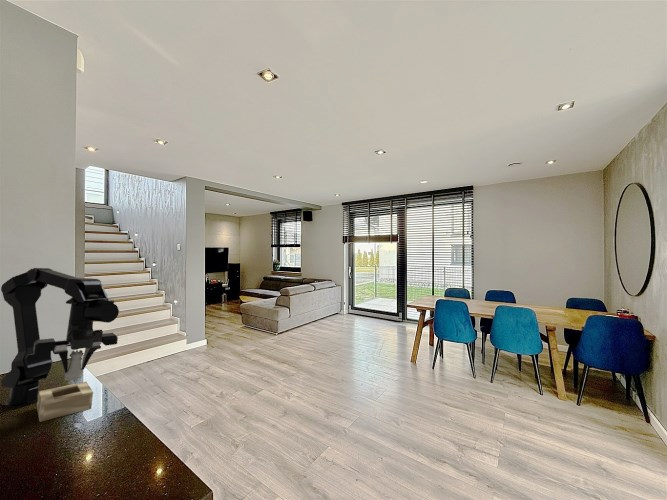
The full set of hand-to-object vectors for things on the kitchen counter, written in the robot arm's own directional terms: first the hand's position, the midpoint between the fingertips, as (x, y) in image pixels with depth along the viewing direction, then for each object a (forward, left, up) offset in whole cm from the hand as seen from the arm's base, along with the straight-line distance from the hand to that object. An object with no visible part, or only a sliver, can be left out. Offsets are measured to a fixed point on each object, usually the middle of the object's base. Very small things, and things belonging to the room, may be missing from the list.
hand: (74, 370), depth 85 cm
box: (-3, 0, -12) cm, 12 cm away
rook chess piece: (0, 0, -2) cm, 2 cm away
